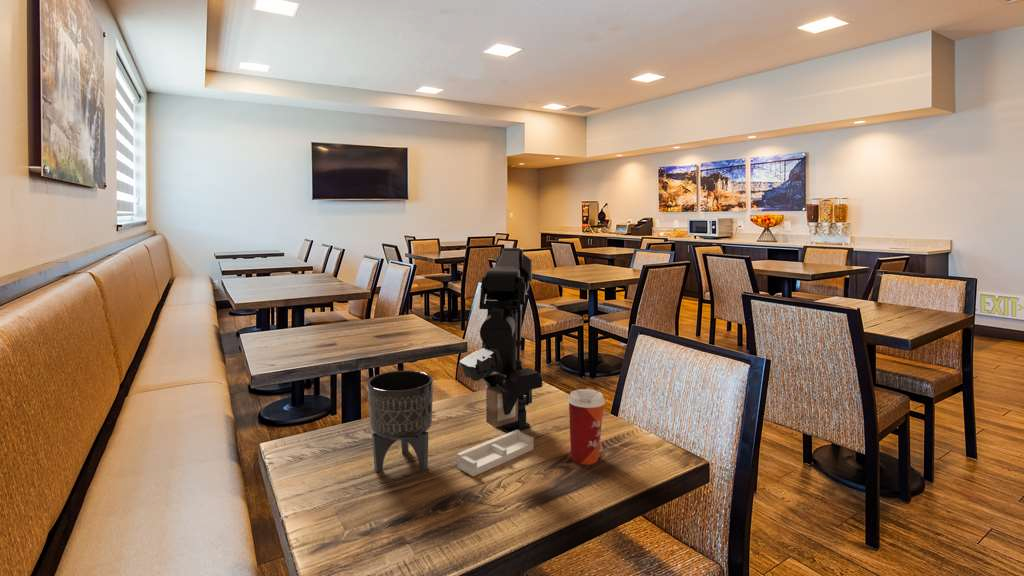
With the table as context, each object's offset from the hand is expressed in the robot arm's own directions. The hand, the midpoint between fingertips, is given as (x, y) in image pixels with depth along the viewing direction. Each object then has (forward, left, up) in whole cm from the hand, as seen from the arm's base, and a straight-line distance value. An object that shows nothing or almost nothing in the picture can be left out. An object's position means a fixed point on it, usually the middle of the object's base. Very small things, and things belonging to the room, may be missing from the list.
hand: (502, 411), depth 107 cm
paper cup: (+9, +15, -12) cm, 21 cm away
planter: (-15, -14, -12) cm, 24 cm away
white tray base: (-4, +2, -12) cm, 13 cm away
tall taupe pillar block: (0, 0, -2) cm, 2 cm away
